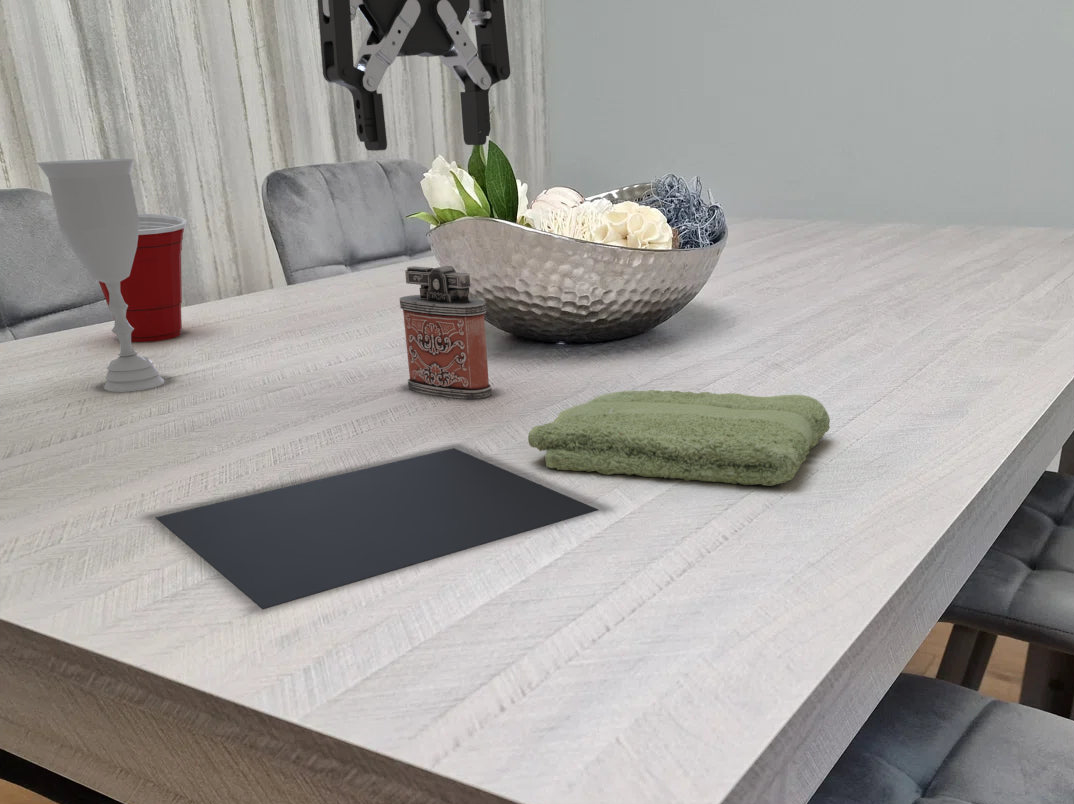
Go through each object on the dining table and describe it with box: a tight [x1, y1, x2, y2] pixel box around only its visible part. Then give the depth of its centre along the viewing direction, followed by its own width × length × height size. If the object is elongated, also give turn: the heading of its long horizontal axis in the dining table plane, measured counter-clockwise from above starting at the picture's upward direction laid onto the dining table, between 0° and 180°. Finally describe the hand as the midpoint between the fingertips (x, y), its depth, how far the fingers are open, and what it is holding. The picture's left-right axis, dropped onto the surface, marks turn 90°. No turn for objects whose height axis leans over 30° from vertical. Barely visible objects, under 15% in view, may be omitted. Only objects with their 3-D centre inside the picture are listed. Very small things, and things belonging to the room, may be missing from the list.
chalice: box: [36, 158, 165, 393], centre depth 86 cm, size 7×7×18 cm
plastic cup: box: [98, 213, 188, 343], centre depth 107 cm, size 11×11×12 cm
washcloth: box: [527, 389, 831, 487], centre depth 69 cm, size 13×18×3 cm
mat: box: [155, 447, 600, 610], centre depth 60 cm, size 20×16×1 cm
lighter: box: [399, 265, 493, 401], centre depth 83 cm, size 8×3×10 cm, turn 56°
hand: (427, 147), depth 78 cm, fingers open, 8 cm apart
